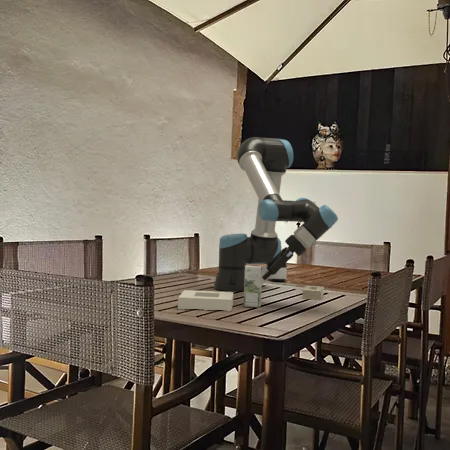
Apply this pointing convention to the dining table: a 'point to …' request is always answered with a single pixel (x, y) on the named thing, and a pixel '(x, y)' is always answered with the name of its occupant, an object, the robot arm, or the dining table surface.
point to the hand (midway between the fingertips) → (255, 282)
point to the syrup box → (252, 286)
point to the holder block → (205, 300)
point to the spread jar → (280, 274)
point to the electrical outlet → (313, 292)
